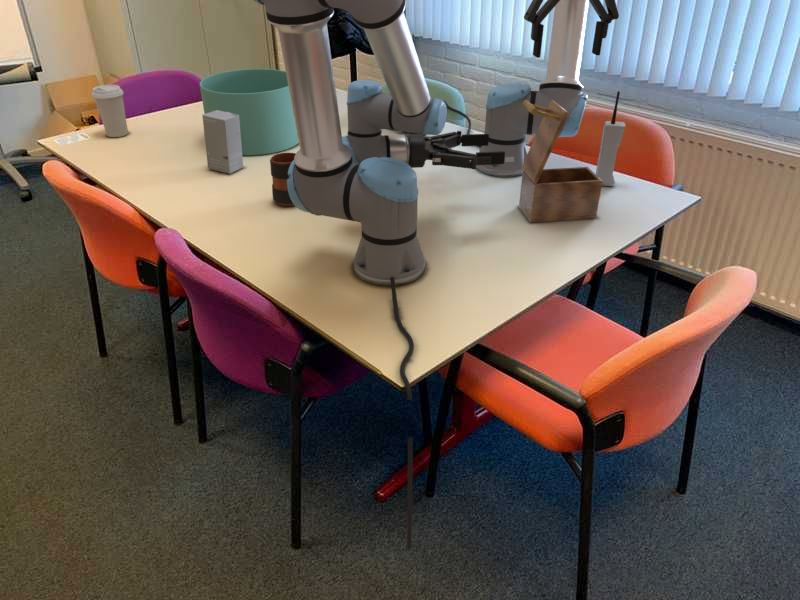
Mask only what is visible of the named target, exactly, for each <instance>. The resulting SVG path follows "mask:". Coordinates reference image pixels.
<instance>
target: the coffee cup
mask: <svg viewBox="0 0 800 600" xmlns="http://www.w3.org/2000/svg"><path fill="white" fill-rule="evenodd" d="M91 97H92V98H93V100H94V102H95V105H96V108H97V111H98V113H99V117H100V119H101V122H102V125H103V128H104V131H105V134H106V136H107V137H109V138H122V137H124V136H127V135H128V134H129V131H128V123H127V117H126V109H125V103H124V91H123V89H122V88H121V86H120V85H118V84H101V85H97V86H95V87H93V88H92V92H91Z"/></svg>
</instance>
